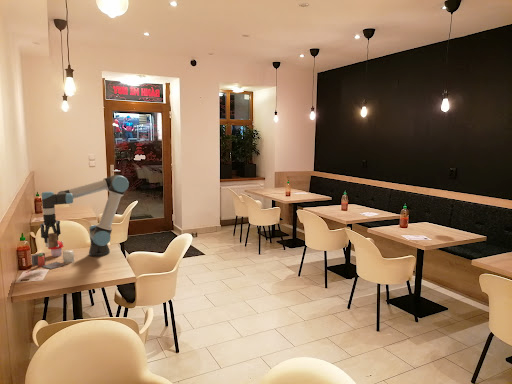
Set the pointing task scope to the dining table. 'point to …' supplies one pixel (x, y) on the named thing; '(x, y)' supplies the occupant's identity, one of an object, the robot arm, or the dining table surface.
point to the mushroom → (57, 249)
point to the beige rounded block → (68, 256)
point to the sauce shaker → (41, 260)
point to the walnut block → (52, 240)
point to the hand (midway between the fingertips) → (52, 245)
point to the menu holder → (36, 258)
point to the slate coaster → (53, 265)
